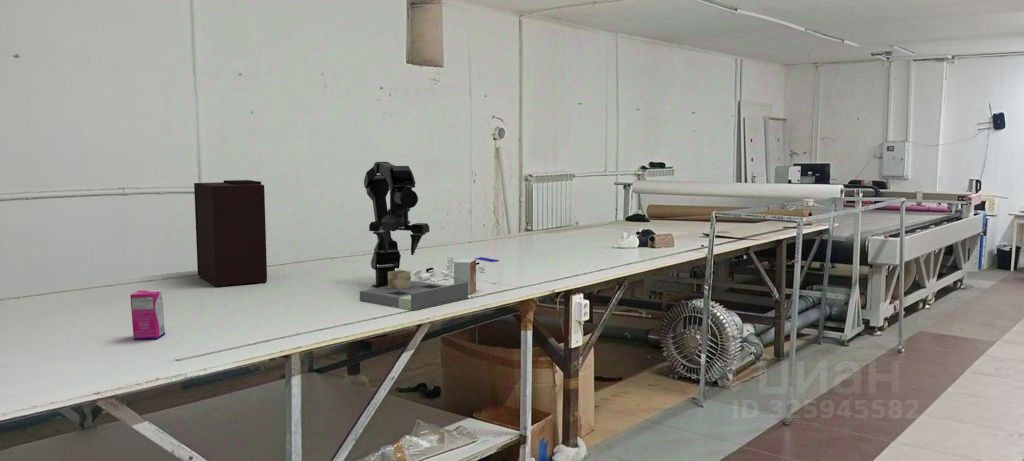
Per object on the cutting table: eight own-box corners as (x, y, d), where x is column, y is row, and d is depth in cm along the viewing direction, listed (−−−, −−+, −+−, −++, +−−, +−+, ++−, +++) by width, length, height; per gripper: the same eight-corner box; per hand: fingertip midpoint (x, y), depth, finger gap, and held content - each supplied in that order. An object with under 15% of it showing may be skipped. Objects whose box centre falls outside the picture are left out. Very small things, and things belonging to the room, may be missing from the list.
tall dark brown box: (215, 287, 257) (212, 183, 254) (197, 276, 279) (193, 180, 275) (272, 282, 268) (269, 182, 264) (250, 272, 290) (247, 179, 286)
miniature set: (467, 266, 301) (491, 274, 294) (403, 284, 274) (427, 293, 267) (469, 250, 300) (493, 258, 293) (404, 267, 273) (428, 275, 265)
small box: (470, 294, 247) (470, 262, 246) (453, 294, 248) (453, 261, 247) (476, 290, 255) (476, 258, 254) (460, 289, 256) (460, 258, 255)
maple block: (388, 287, 242) (387, 272, 242) (399, 285, 246) (399, 270, 246) (399, 289, 239) (399, 273, 239) (410, 287, 243) (410, 271, 243)
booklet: (433, 264, 314) (433, 262, 314) (481, 258, 330) (481, 257, 330) (451, 267, 305) (451, 266, 305) (499, 262, 321) (499, 260, 321)
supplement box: (141, 334, 193) (139, 289, 192) (165, 334, 193) (163, 289, 192) (132, 340, 187) (129, 294, 186) (157, 339, 188) (155, 293, 186)
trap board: (359, 300, 236) (359, 284, 236) (415, 289, 255) (414, 274, 255) (413, 310, 222) (413, 293, 222) (468, 297, 241) (468, 282, 241)
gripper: (360, 206, 239) (360, 256, 241) (415, 208, 233) (415, 259, 235) (377, 203, 249) (377, 251, 251) (430, 205, 243) (430, 254, 245)
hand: (399, 254), depth 245 cm, fingers open, 9 cm apart
